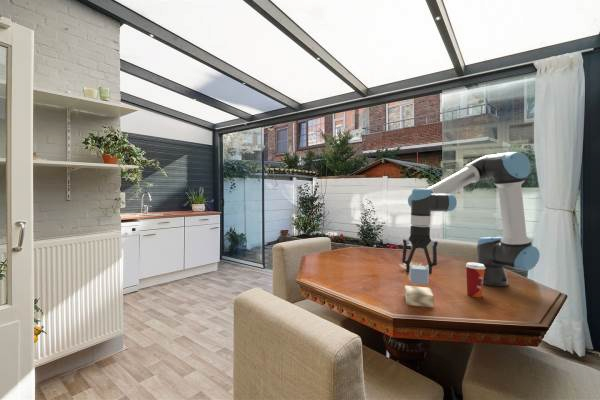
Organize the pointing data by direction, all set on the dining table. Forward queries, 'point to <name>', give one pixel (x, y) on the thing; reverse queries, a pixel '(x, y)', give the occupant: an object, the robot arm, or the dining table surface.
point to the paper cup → (475, 279)
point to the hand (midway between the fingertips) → (418, 280)
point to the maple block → (418, 296)
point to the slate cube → (419, 274)
